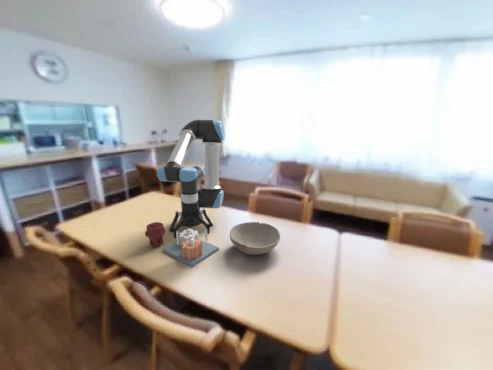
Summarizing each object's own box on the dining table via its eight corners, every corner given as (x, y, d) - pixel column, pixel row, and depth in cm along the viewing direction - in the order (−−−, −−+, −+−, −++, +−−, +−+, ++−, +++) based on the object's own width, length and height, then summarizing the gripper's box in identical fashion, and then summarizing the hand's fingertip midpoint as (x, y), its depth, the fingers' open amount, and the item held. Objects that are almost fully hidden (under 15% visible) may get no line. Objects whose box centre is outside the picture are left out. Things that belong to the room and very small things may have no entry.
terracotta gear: (181, 250, 120) (181, 240, 118) (201, 247, 123) (200, 237, 121) (183, 260, 111) (182, 250, 109) (203, 257, 114) (203, 247, 112)
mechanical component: (170, 241, 131) (160, 250, 121) (153, 238, 133) (142, 248, 123) (168, 220, 127) (158, 229, 118) (151, 218, 129) (140, 226, 120)
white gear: (187, 236, 133) (187, 227, 131) (202, 240, 129) (201, 231, 127) (176, 244, 124) (175, 235, 123) (191, 249, 120) (190, 239, 119)
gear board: (189, 237, 135) (188, 222, 133) (218, 250, 123) (218, 233, 121) (162, 251, 121) (161, 234, 118) (192, 267, 109) (191, 249, 106)
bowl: (285, 243, 131) (286, 227, 128) (269, 270, 108) (270, 251, 105) (243, 233, 141) (243, 217, 138) (219, 256, 118) (219, 238, 115)
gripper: (161, 207, 102) (165, 249, 108) (218, 201, 109) (219, 241, 116) (161, 200, 109) (165, 241, 115) (215, 195, 116) (216, 234, 123)
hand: (192, 241), depth 116 cm, fingers open, 13 cm apart
